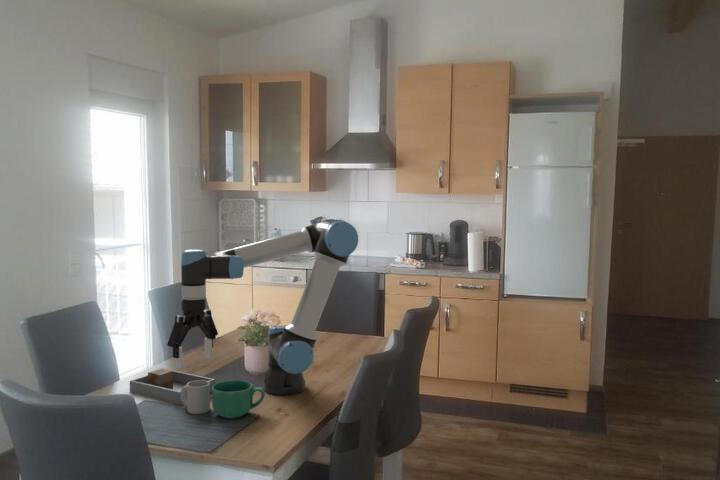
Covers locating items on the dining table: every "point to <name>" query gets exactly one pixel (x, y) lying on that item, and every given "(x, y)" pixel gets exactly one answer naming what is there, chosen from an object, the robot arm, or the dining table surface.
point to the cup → (196, 396)
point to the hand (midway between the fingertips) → (193, 362)
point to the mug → (234, 398)
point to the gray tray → (166, 394)
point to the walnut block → (161, 378)
